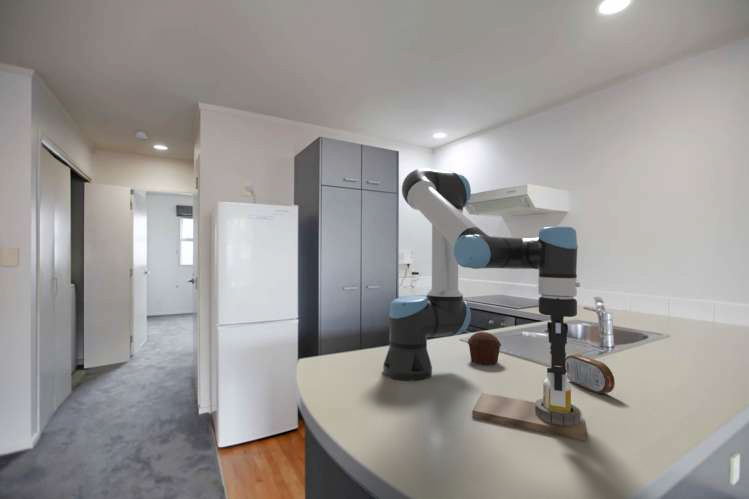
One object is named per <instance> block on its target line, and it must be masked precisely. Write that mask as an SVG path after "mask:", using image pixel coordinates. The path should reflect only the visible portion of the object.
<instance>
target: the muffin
mask: <svg viewBox="0 0 749 499" xmlns="http://www.w3.org/2000/svg"><path fill="white" fill-rule="evenodd" d="M467 344H468V347H469V354H470V360H471V361H470V362H472V363H473V362H474V364H476V365H480V364H481V366H494V365H497V364H498V361H499V355H500V349H501V347H502V343H501V341H499V339H498V337H496V336H495V335H494V334H492V333H489V332H487V331H480V332H479V331H478V332H475V333H474V334H471V336H470V337H469V339H468V340H467Z"/></svg>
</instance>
